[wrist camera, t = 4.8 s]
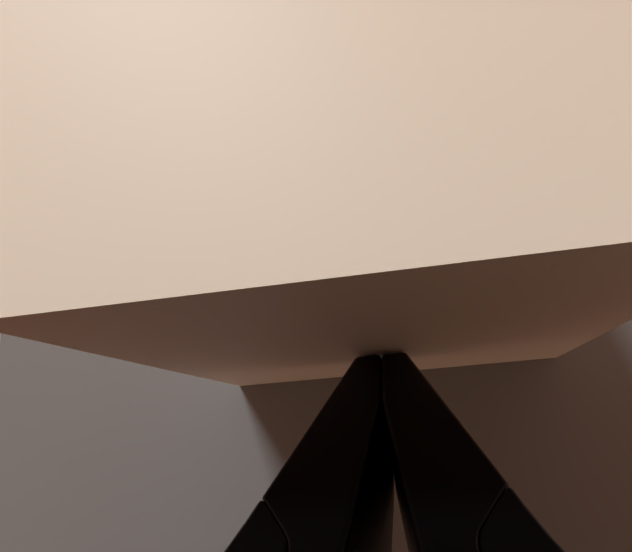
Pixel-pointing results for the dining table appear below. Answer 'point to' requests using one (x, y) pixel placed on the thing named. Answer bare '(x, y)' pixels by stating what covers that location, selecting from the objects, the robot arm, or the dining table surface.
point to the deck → (285, 446)
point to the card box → (315, 180)
